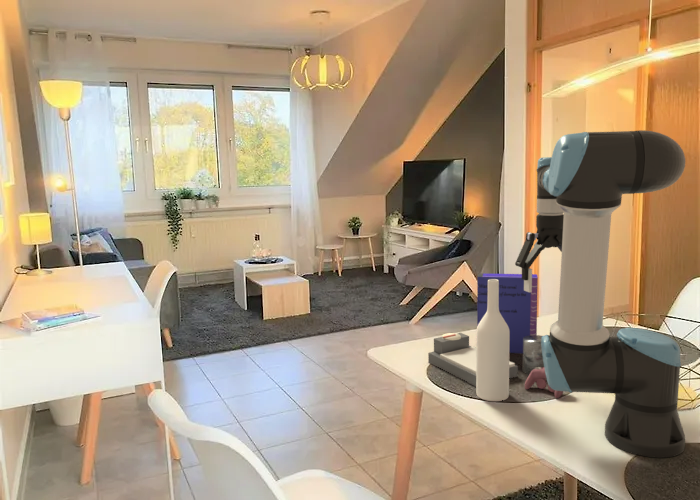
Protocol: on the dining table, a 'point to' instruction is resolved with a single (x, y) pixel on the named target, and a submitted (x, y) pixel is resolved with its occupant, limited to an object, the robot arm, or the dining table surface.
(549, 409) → the dining table surface
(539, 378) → the video game controller
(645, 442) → the robot arm
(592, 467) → the dining table surface
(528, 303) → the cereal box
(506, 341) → the bottle
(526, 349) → the steel weight
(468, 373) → the platform scale
